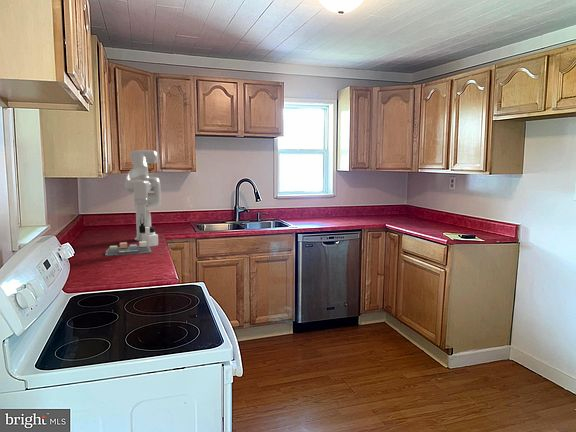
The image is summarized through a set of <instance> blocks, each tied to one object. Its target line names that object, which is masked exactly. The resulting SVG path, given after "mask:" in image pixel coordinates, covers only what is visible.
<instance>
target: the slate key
mask: <svg viewBox="0 0 576 432" xmlns="http://www.w3.org/2000/svg"><path fill="white" fill-rule="evenodd" d="M137 246H138V245H137V244H129V247H130V249H131V248H137Z"/></svg>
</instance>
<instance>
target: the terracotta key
mask: <svg viewBox="0 0 576 432" xmlns="http://www.w3.org/2000/svg"><path fill="white" fill-rule="evenodd" d="M119 247H120V248H127V247H128V242H127V241H125V242H119Z"/></svg>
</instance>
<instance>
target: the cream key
mask: <svg viewBox="0 0 576 432" xmlns="http://www.w3.org/2000/svg"><path fill="white" fill-rule="evenodd" d="M138 246H140V247H146V246H147V242H146V241H138Z"/></svg>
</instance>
